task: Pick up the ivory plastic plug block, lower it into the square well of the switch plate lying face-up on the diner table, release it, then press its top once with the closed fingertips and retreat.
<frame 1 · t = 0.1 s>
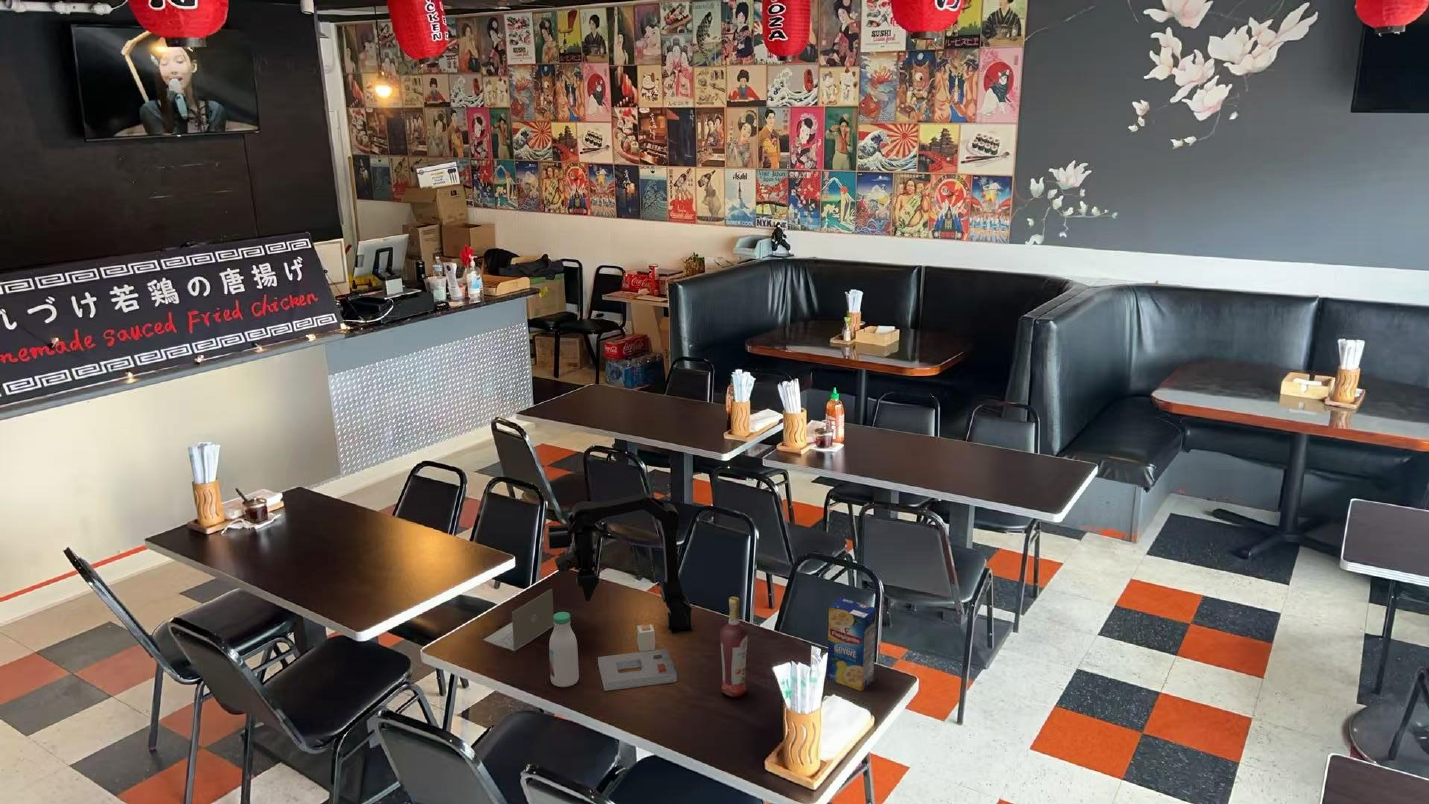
hand: (586, 594, 299), 15 cm above the table, fingers open, 9 cm apart
milk bottle: (564, 681, 281), on the table
switch plate: (636, 673, 284), on the table
beverage box: (850, 680, 281), on the table
plug: (646, 646, 298), on the table
laptop: (519, 635, 307), on the table
liquor: (733, 693, 275), on the table
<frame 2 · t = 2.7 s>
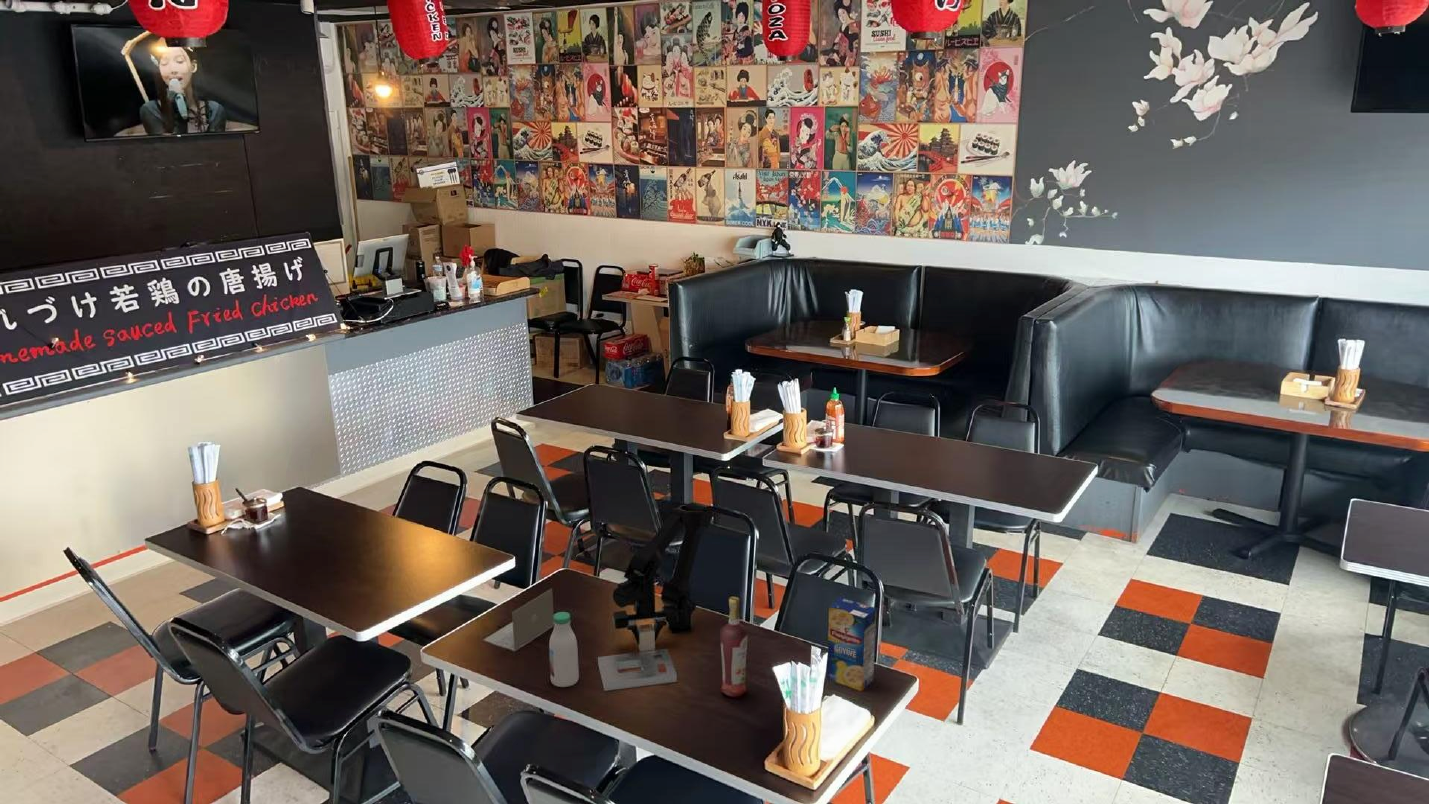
hand: (646, 642, 298), 1 cm above the table, fingers closed on plug, 4 cm apart
plug: (646, 646, 298), on the table, touching gripper
everything else where it was.
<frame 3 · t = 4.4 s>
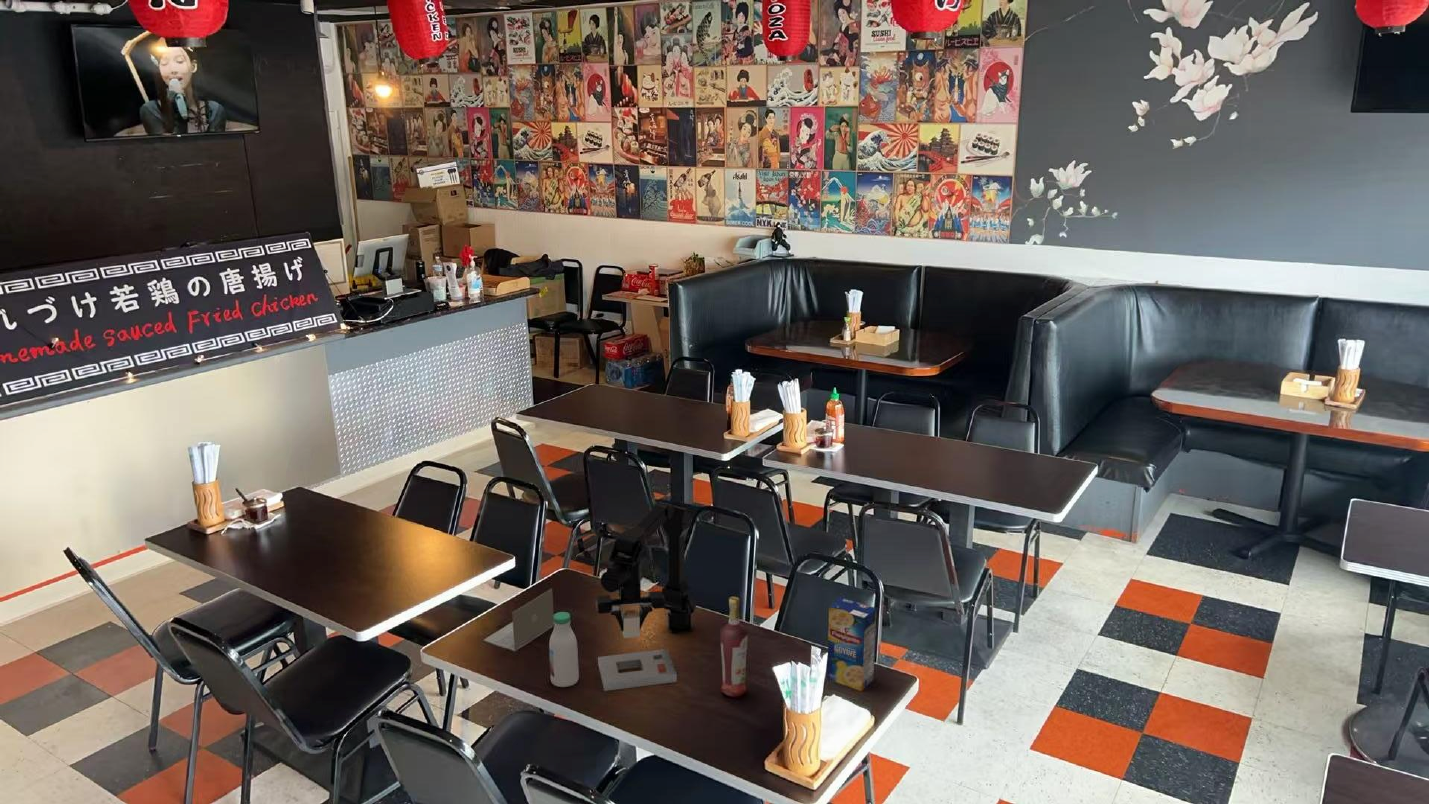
hand: (630, 630, 283), 12 cm above the table, fingers closed on plug, 4 cm apart
plug: (630, 633, 283), point 11 cm above the table, touching gripper
everything else where it was.
when the fingers open (3 cm above the table, at t = 6.2 s): plug drops 2 cm, resting in switch plate.
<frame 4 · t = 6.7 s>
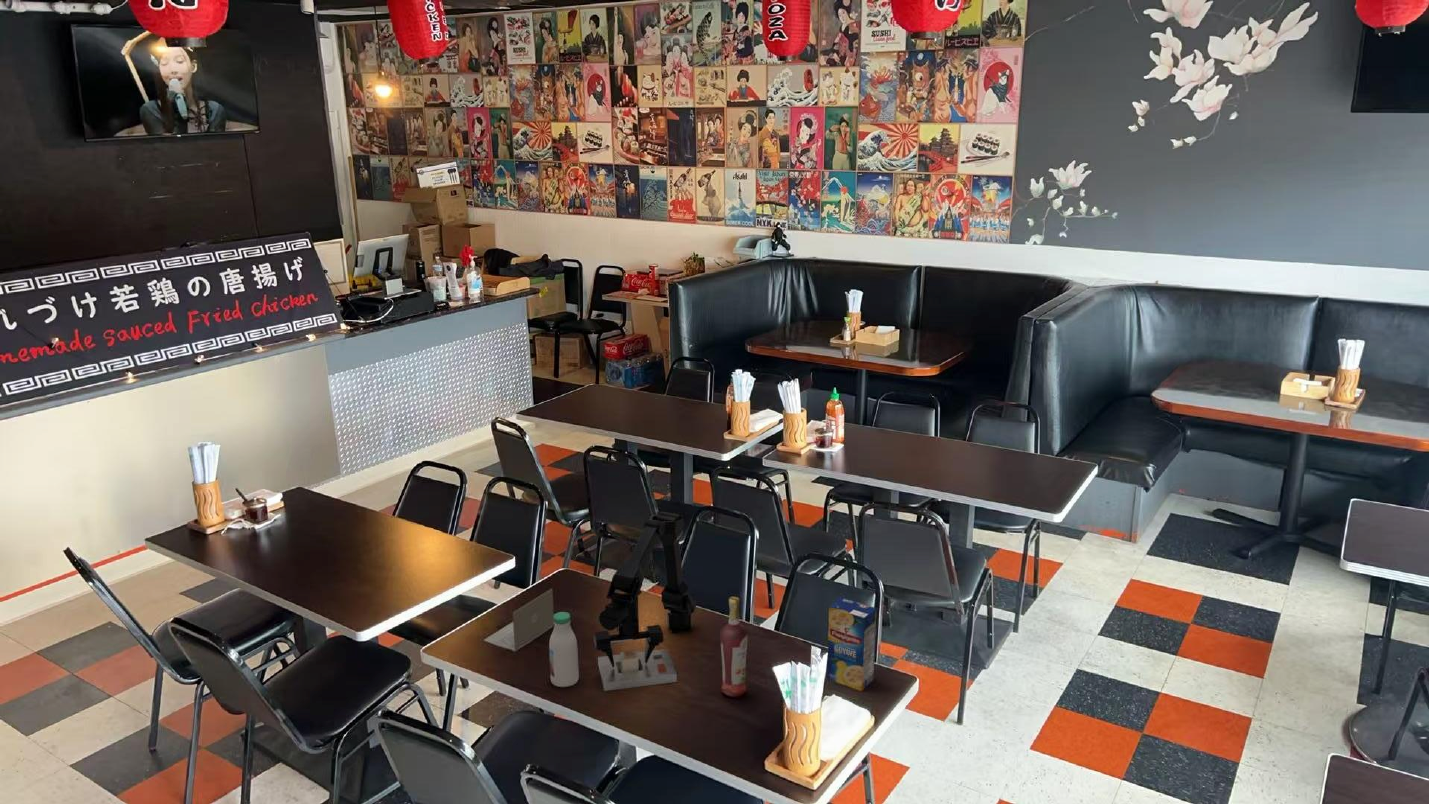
hand: (629, 664, 283), 3 cm above the table, fingers open, 9 cm apart
plug: (629, 674, 284), resting in switch plate
everything else where it was.
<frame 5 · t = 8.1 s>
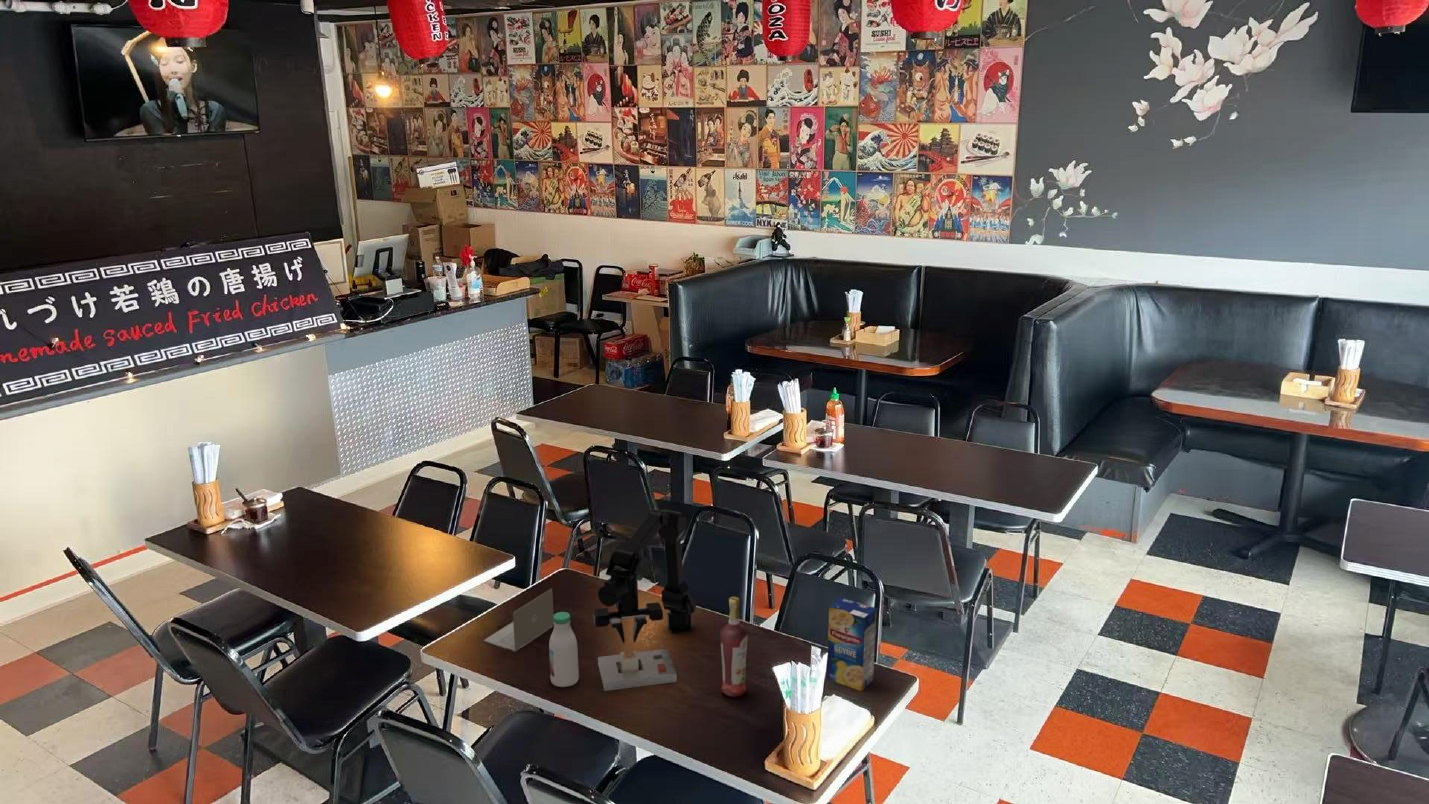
hand: (628, 642, 281), 10 cm above the table, fingers open, 3 cm apart
nothing on the table moved.
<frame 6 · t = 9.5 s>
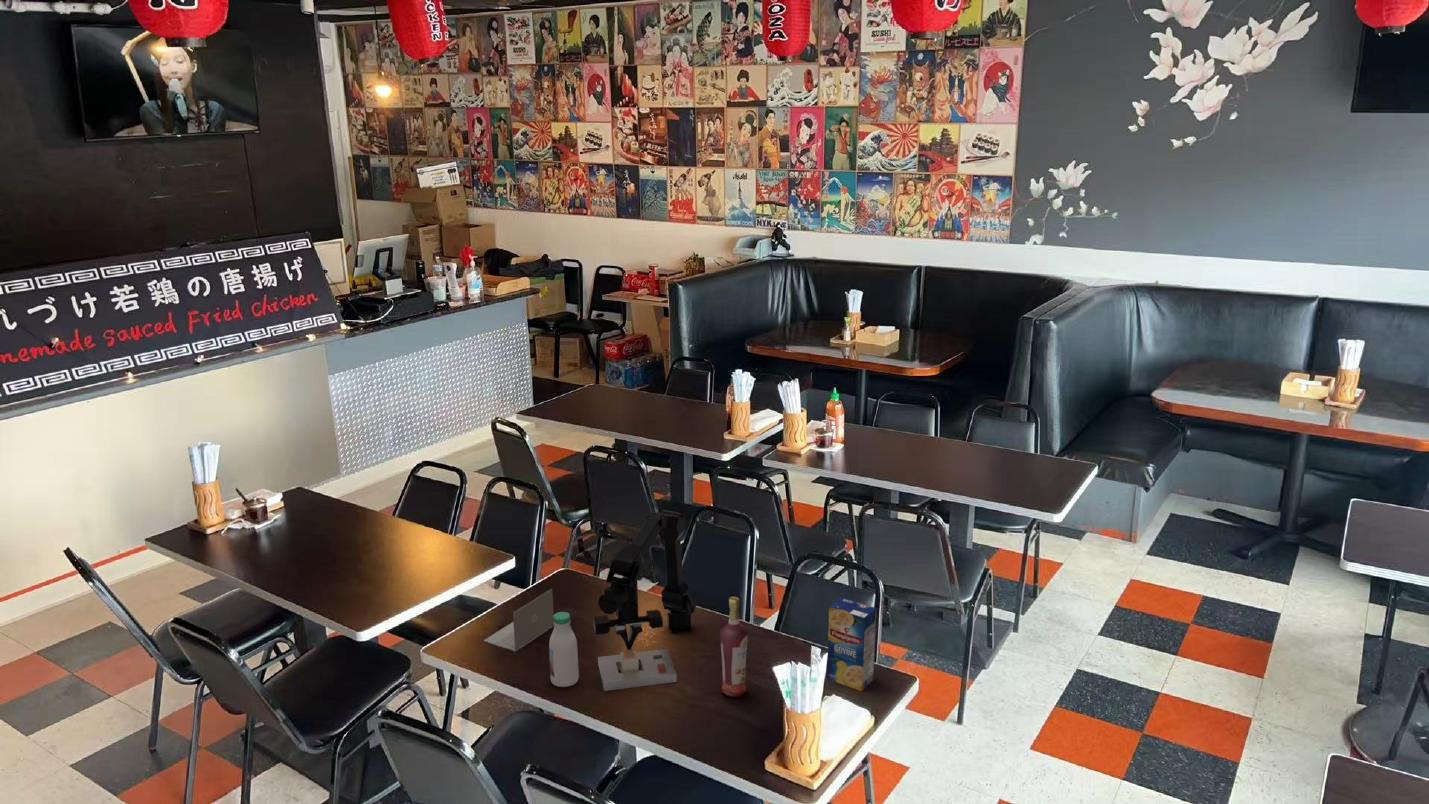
hand: (628, 649, 282), 8 cm above the table, fingers closed
nothing on the table moved.
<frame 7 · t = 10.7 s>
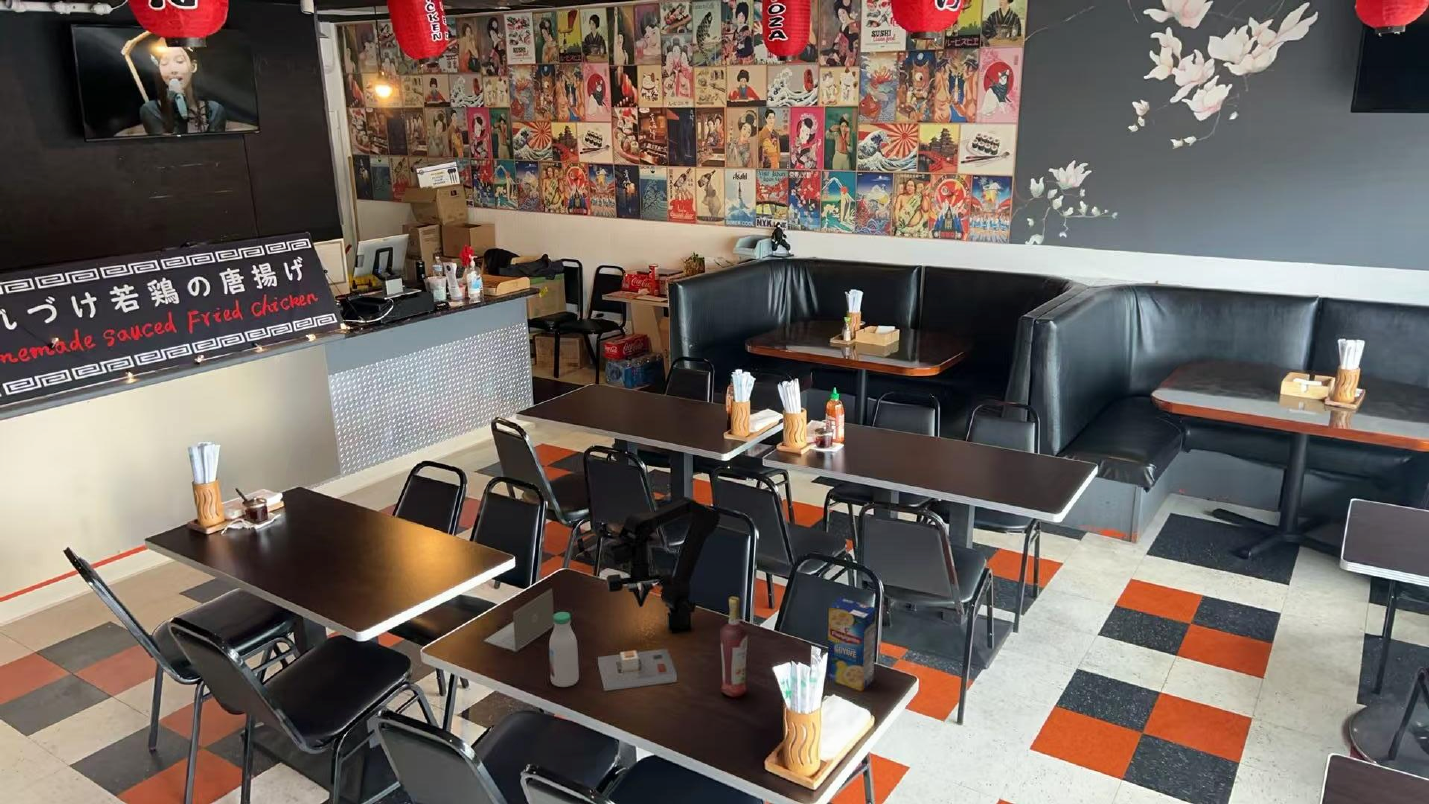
hand: (640, 606, 297), 12 cm above the table, fingers closed
nothing on the table moved.
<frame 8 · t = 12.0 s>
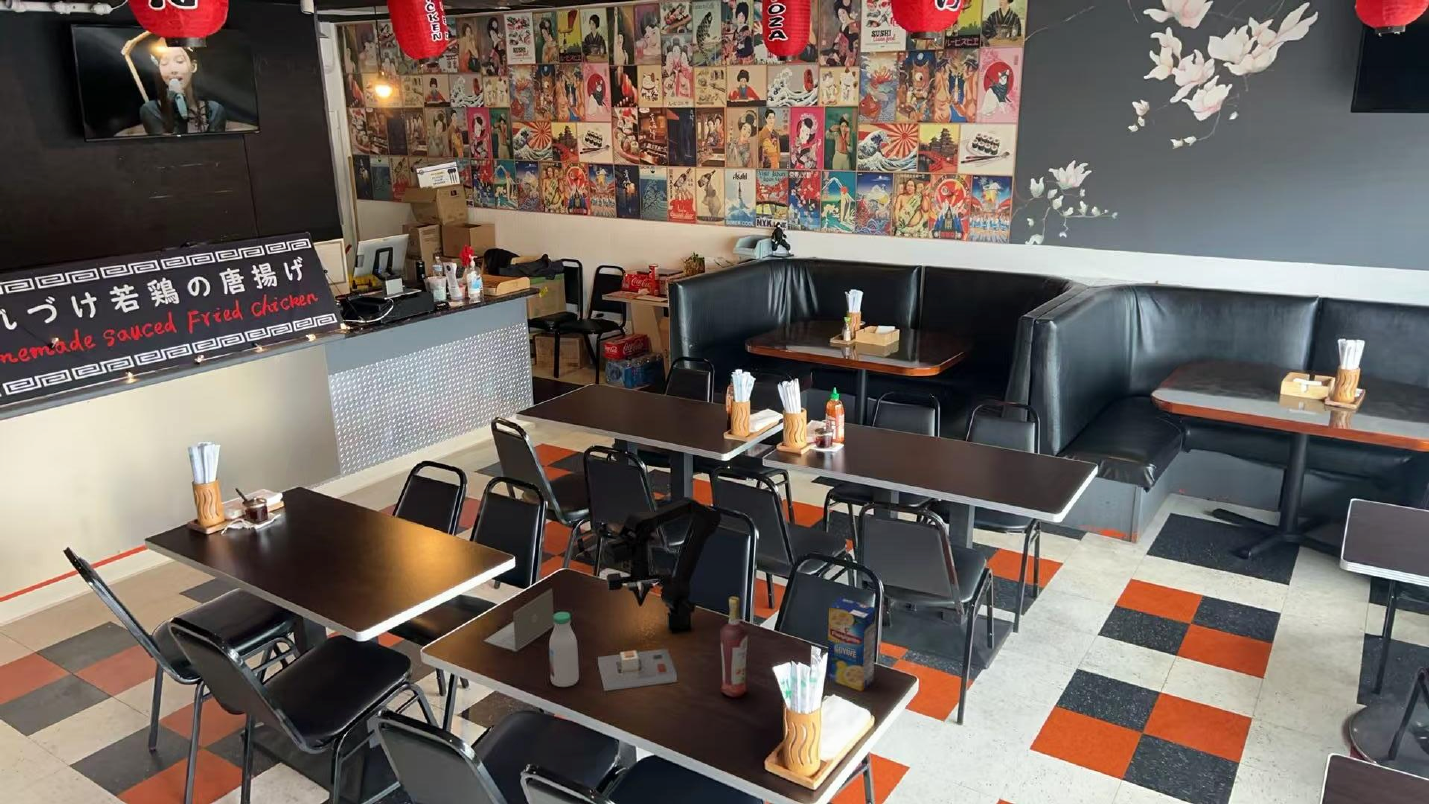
hand: (640, 605, 298), 12 cm above the table, fingers closed
nothing on the table moved.
at the end: plug 0.0 cm from the target spot on the switch plate, point 0.0 cm above the switch plate's base; plug tilted 0°; the gripper is holding nothing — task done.
